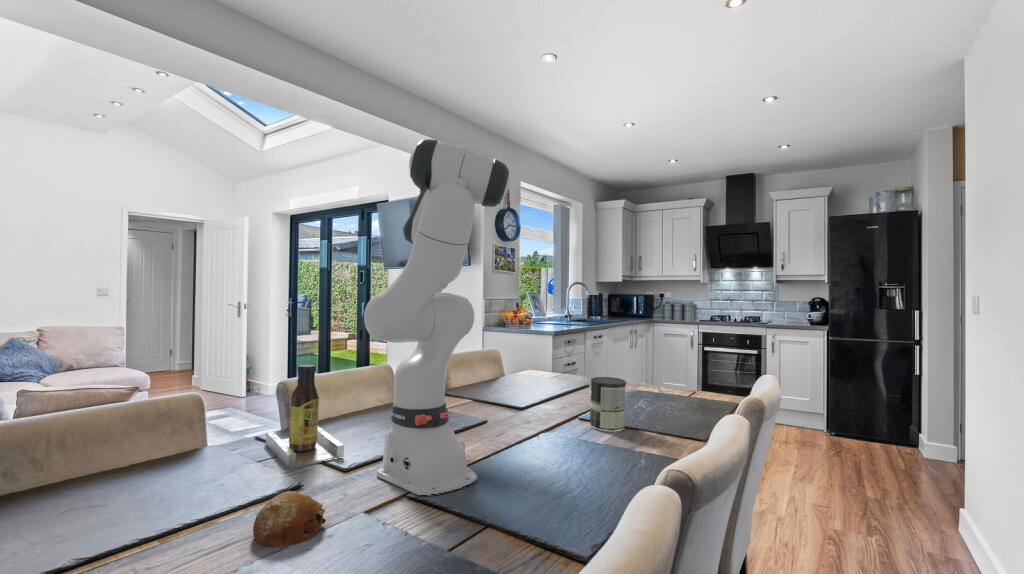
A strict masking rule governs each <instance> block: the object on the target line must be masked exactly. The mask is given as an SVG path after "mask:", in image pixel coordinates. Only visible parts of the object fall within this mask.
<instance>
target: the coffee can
mask: <svg viewBox="0 0 1024 574" xmlns="http://www.w3.org/2000/svg"><path fill="white" fill-rule="evenodd" d="M626 385H627V381H626V380H624V379H622V378H617V377H611V376H610V377H609V376H606V377H605V376H598V377H597V376H596V377H592V378H590V413H589V414H590V416H589V417H590V420H589V427H590V426H591V427H593V428H596V429H601V430H609V431H615V430H621V429H623V428H624V429H625V414H626V413H625V411H626V410H625V407H626ZM591 427H590V428H591Z"/></svg>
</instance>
